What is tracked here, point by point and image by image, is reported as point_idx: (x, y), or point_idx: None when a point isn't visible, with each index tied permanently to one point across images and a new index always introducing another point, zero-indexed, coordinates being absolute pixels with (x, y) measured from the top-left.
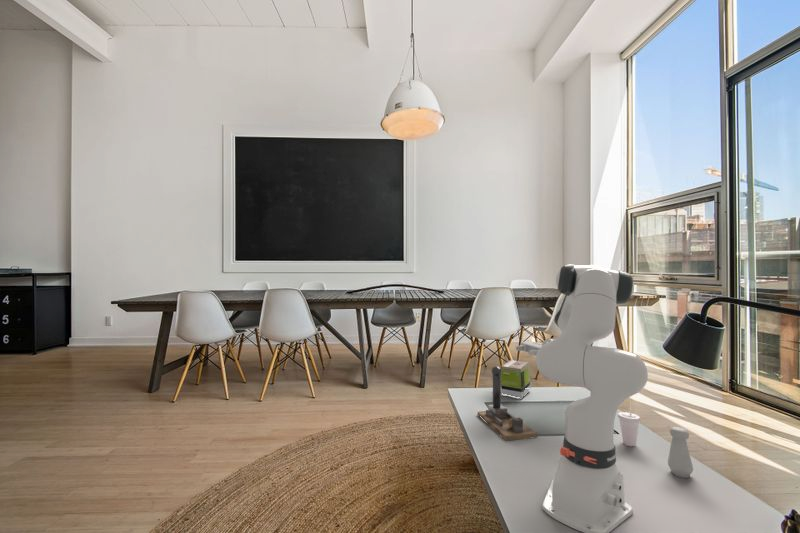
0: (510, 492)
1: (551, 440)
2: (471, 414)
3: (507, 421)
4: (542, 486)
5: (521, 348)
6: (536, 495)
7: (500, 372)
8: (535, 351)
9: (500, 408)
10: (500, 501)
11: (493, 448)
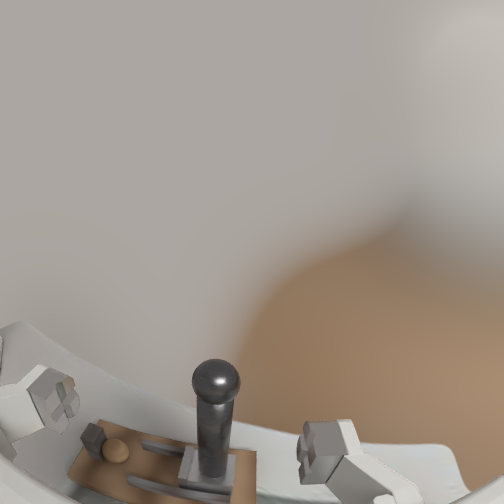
0: (32, 342)
1: None
2: (266, 447)
3: (160, 476)
4: (8, 363)
5: (351, 491)
6: (10, 350)
7: (192, 382)
8: (11, 388)
9: (185, 460)
10: (35, 331)
11: (98, 393)
